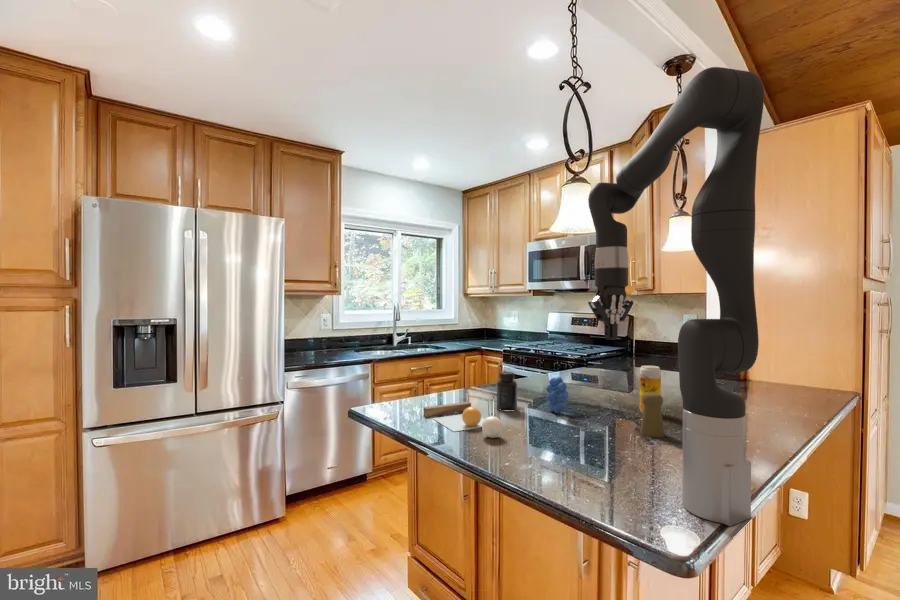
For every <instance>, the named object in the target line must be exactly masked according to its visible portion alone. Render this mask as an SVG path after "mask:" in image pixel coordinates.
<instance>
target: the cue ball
mask: <svg viewBox="0 0 900 600" xmlns="http://www.w3.org/2000/svg"><path fill="white" fill-rule="evenodd" d="M484 419H485V420H484V421H483V423H482V428H481V429H482V433H483V434H484V435H485V436H486V437H487V438H490V439H496V438H498V437H499V436H500V435H501V434H502V432H503V429H504V426H503V423H502V421H501V419H499V418H498V417H497V416H495V415H493V416H488V417H486V418H484Z"/></svg>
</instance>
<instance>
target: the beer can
mask: <svg viewBox="0 0 900 600" xmlns="http://www.w3.org/2000/svg"><path fill="white" fill-rule="evenodd" d="M639 368H640V369H639V411H640V412H641V414H642V415H643V409H644V404H643V402H642V396H643V394H645V393H657V394H659V395H661V396H662V392H661V391H662V390H661V389H662V381H661V380H662V379H661V378H662V372H661V368H660V366H656V365H649V364H648V365H647V364H646V365H641V366H640V367H639Z"/></svg>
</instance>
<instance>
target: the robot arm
mask: <svg viewBox="0 0 900 600" xmlns="http://www.w3.org/2000/svg"><path fill="white" fill-rule="evenodd" d="M763 83H764V82H763V81H762V79H761V78H760V76H759V75H758V74H757V73H754V72H751V71H747V70H741V69H735V68H729V67H720V66H712V67H708V68H705V69H703V70H701V71H700V72H698V73H697V74H696V75H694V77H693V78H691V80H690V81H689V82H688V83H687V85H685V88H683V90H682V91H681V92H680V94H679V95H678V97H677V98H676V99H675V101H674V102H673V103H672V105H671V106H670V107H669V109H668V111H667V112H666V113H665V115H664V116H663V117H662V118H661V121H660V122H659V124H658V125H657V126H656V128H654V131H653V132H652V134H651V135H650V136H649V138H647V141H646V142H645V143H643V145H642V146H641V147H640V149H638V150H637V151H636V153H634V155H633V156H632V157H631V158H629V160H628V161H626V163H624V165H623V166H621V168H619V170H618V172H617V173H616V176H615V182H616V183H615V182H602V181H601V182H598V183H596V184H594V185H593V186H592V187H591V189H590V191H589V194H588V199H587V200H588V202H587V203H588V209H589V212H590V215H591V218H592V223H593V227H594V230H595V255H594V287H595V288H596V292H595V297H594V298H593V300H592V299H591V300H588V301H587V302H588V306H589V307H590V309H591V311H592V312H593V314H594V317H595V318H596V320H597V321H598V322H601V323H603V327H604V329H603V330H604V333H603V334H604V337H605V340H607V341H608V340H610V341H612V340H613V341H615V340H617V338H618V333H619V332H618V330H619V329H618V328H619V327H618V325H619V324H620V322H624V321H625V320H626V318H627V316H628V314H629V313H630V311H631V309H632V307H633V305H634V300H631V299H628V297H627V292H626V287H628V286H629V254H628V253H629V252H628V228H627V225H626V224H624V223H623V222H619V221H617V220H616V219H614V216H613V215H614V214H617V215H622V214H625V213H627V212H630V211H631V210H632V209H633V208H634V207H635V205H636V204H637V202H638V201H639V199H640V197H641V196H642V194H643V193H644V191H645V190H646V189H647V188H648V187H650V186H651V185H652V184H653V183H654V182H656V181H657V179H659V178H660V177H661V176H662V175H663V174H664V173H665V171H666V170H667V169H668V167H669V166H670V163H671V160H672V157H673V154H674V149H675V147H676V145H677V143H679V141H680V140H681V139H683V138H684V137H685V136H686V135H687V134H688V133H691V132H692V131H693V130H694V129H696V128H704V129H712V130H716V136H717V137H716V139H717V140H716V141H717V144H716V155H715V156H716V157H715V160H714V165H713V166H712V170H711V171H710V173H709V175H707V178H706V179H705V181H704V182H703V185H702V186H701V188H700V189H699V191H698V193H697V195H696V197H695V199H694V201H693V204H692V208H691V228H690V229H691V230H690V232H691V235H690V236H691V238H690V239H691V241H690V242H691V246H692V249H693V252H694V254H695V255H696V257H697V258H698V261H699V263H701V265H702V267H703V268H704V270H705V271H706V273H707V274H708V275H709V277H710V278H711V280H712V283H713V284H714V286H715V289H716V292H717V297H718V300H719V318H695V319H694V318H693V319H689V320H686V321H685V322H684V323H683V324H682V326H681V327H680V330H679V333H678V338H677V357H678V358H677V359H678V376H679V377H678V379H679V380H678V381H679V390H680V394H681V399H682V449H681V450H682V452H681V453H682V466H681V467H682V468H681V469H682V471H681V473H682V475H681V476H682V477H681V478H682V479H681V481H682V484H681V485H682V488H681V489H682V490H681V491H682V492H681V493H682V496H681V497H682V499H681V502H682V506H683V507H684V508H685V510H686V511H688V512H689V513H691V514H693V515H695V516H697V517H699V518H700V519H701V518H702V519H704V520H706V521H711V522H715V523H720V524H722V525H723V524H724V525H726V526H728V527H732V526H734V525H736V524H739V523H742V522H744V521H747V520H749V519H751V518H752V463H751V461H750V460H748V459H746V402H745V399H744V398H743V397H741V396H740V395H739V394H736V393H733V392H730V391H727V390H724V389H723V388H721V387H720V386H718V384H717V379H716V373H743V372H747V371H749V370H750V369H752V367H753V366H754V365H755V363H756V360H757V357H758V354H759V353H758V352H759V329H758V317H757V316H758V315H757V308H756V297H755V294H756V293H755V278H754V277H755V275H754V274H755V273H754V272H755V271H754V269H755V267H754V266H755V264H754V260H755V259H754V257H755V255H754V253H755V249H754V248H755V233H756V181H757V162H758V157H757V156H758V147H759V141H760V140H759V139H760V134H761V126H762V119H763V113H764V112H763V111H764V103H765V102H764V101H765V89H764V88H765V87H764V84H763ZM612 214H613V215H612Z"/></svg>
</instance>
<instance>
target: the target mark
mask: <svg viewBox="0 0 900 600" xmlns="http://www.w3.org/2000/svg"><path fill="white" fill-rule="evenodd" d="M462 414H463V413H461V414H455V415H447V416H440V417H433V418H432V419H433V420H434V421H435V422H437V423H439V424H440V425H442V426H444V427H445V428H446V429H448V430H450V431H451V432H452V433H456V432H464V431H470V430H475V429H482V428H481V427H482V423H483V421H484V420H485V419H486V418H484V417H483V416H481V421H480V422H479V424H478V425H476V426H473V427H470V426H467V425H466V424H465V423H464V422H463V420H462ZM463 430H464V431H463Z"/></svg>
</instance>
